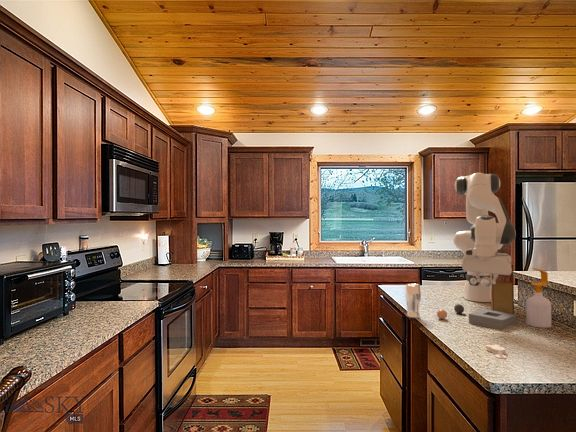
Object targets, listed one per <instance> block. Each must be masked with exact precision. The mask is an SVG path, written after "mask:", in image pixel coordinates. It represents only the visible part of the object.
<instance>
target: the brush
mask: <svg viewBox="0 0 576 432" xmlns="http://www.w3.org/2000/svg"><path fill="white" fill-rule="evenodd" d="M492 343H493V342H492ZM484 350H485V352H489V353H492V354H494V356H495V358H497V359H500V360H505V359H507V356H506V348H504V347H502V346H500V345H499V344H492V345H491V344H486V345H485V348H484Z"/></svg>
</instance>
